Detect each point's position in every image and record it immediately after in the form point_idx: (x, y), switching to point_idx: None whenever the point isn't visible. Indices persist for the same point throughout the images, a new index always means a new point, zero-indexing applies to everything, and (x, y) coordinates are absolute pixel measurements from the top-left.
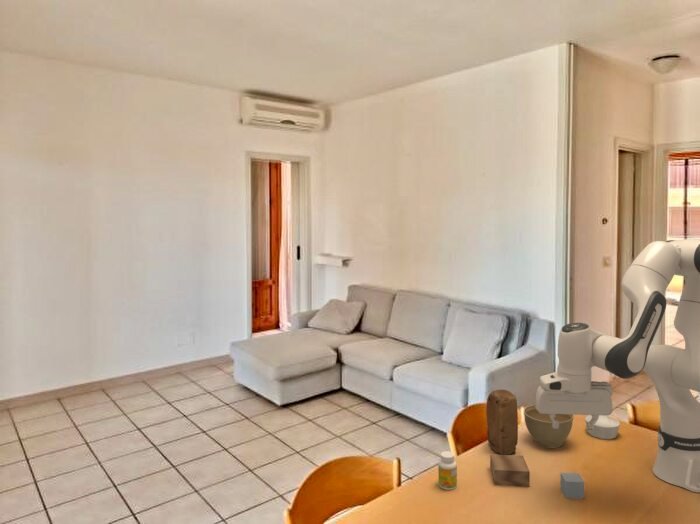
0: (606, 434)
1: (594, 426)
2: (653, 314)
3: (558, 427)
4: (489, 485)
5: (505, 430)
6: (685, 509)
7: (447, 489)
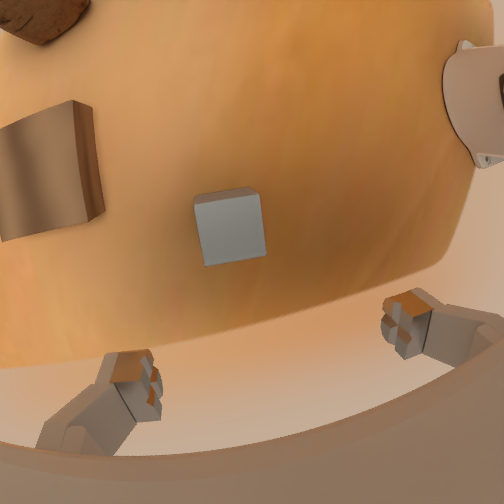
0: None
1: None
2: None
3: (158, 392)
4: None
5: (13, 14)
6: (444, 233)
7: None
